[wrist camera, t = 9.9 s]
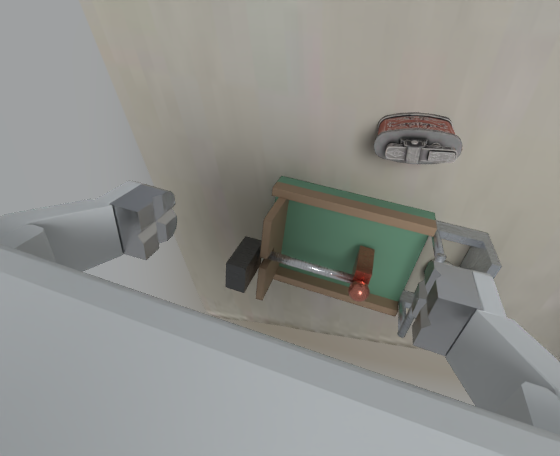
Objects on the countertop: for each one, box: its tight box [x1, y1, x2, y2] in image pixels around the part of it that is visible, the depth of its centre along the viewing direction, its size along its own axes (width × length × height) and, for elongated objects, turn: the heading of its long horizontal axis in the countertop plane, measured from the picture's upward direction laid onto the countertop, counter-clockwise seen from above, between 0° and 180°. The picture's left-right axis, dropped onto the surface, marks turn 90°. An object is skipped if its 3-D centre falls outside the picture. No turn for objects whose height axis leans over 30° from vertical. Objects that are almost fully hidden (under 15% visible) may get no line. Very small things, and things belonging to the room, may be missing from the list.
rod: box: [226, 236, 375, 302], centre depth 43 cm, size 17×4×11 cm, turn 83°
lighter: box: [374, 112, 462, 164], centre depth 34 cm, size 8×3×10 cm, turn 92°
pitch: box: [256, 176, 437, 316], centre depth 45 cm, size 21×16×10 cm
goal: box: [397, 220, 502, 338], centre depth 43 cm, size 7×14×8 cm, turn 173°
